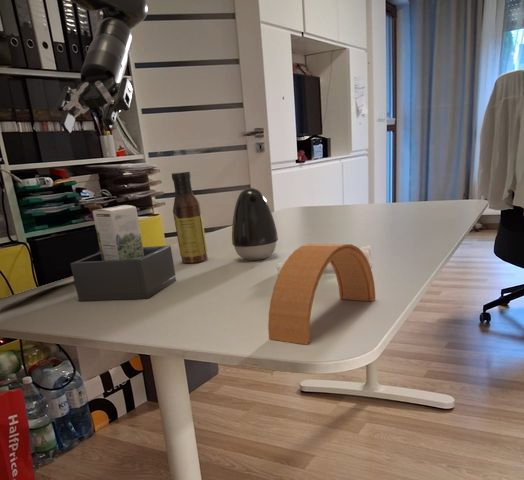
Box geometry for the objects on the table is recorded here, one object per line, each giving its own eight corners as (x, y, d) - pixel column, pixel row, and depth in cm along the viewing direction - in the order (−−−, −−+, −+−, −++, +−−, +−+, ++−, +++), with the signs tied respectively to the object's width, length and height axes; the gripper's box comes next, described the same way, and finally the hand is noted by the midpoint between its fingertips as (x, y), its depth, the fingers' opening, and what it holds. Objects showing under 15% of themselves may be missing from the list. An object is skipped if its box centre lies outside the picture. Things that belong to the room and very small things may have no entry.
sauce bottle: (191, 258, 125) (178, 171, 118) (213, 258, 123) (201, 169, 115) (175, 264, 120) (161, 173, 113) (198, 264, 117) (185, 171, 110)
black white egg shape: (238, 265, 112) (229, 191, 106) (231, 257, 121) (223, 189, 116) (284, 258, 113) (278, 186, 108) (273, 251, 123) (267, 184, 118)
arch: (376, 299, 78) (375, 231, 74) (306, 344, 63) (300, 263, 59) (341, 296, 81) (338, 231, 77) (267, 338, 66) (259, 261, 63)
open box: (78, 301, 96) (69, 263, 93) (113, 283, 107) (106, 249, 105) (148, 298, 92) (141, 259, 90) (176, 280, 104) (170, 245, 101)
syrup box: (131, 280, 103) (116, 205, 98) (150, 282, 100) (136, 204, 95) (107, 287, 99) (90, 209, 94) (125, 290, 96) (109, 209, 91)
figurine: (375, 258, 104) (289, 271, 110) (372, 232, 102) (284, 247, 108) (368, 281, 88) (268, 296, 94) (363, 251, 87) (262, 268, 93)
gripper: (62, 53, 101) (40, 115, 94) (129, 42, 97) (110, 106, 91) (83, 86, 107) (63, 146, 101) (146, 77, 104) (130, 138, 97)
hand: (86, 127), depth 96 cm, fingers open, 8 cm apart
